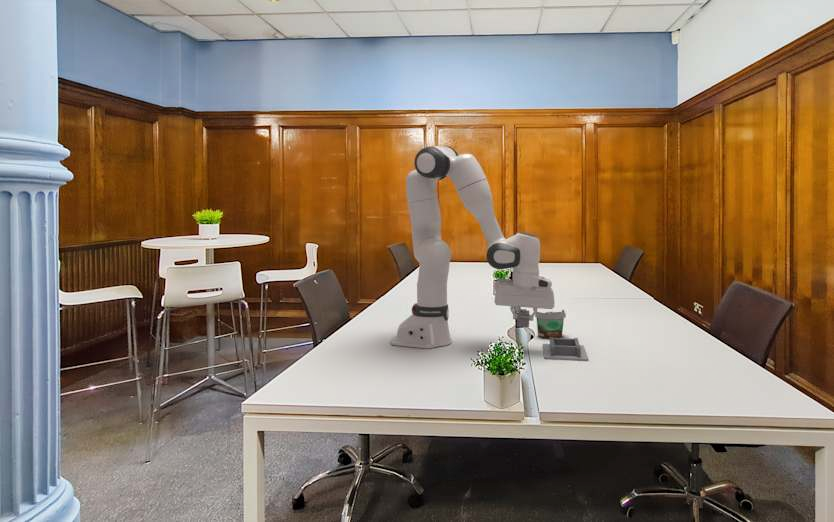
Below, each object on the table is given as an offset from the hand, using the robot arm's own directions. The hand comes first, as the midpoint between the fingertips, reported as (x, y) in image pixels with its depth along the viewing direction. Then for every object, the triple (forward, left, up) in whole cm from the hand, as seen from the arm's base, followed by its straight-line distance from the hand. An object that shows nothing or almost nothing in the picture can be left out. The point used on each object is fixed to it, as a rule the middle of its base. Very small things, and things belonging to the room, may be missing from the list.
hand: (523, 319), depth 180 cm
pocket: (+14, 0, -11) cm, 18 cm away
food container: (+11, +20, -11) cm, 25 cm away
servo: (0, 0, -2) cm, 2 cm away
